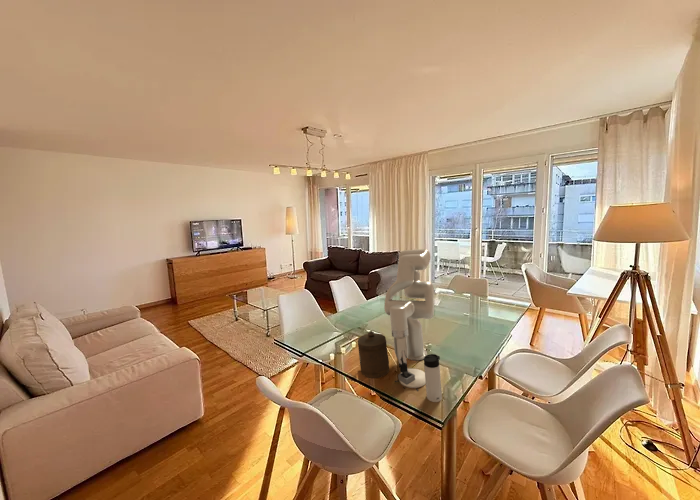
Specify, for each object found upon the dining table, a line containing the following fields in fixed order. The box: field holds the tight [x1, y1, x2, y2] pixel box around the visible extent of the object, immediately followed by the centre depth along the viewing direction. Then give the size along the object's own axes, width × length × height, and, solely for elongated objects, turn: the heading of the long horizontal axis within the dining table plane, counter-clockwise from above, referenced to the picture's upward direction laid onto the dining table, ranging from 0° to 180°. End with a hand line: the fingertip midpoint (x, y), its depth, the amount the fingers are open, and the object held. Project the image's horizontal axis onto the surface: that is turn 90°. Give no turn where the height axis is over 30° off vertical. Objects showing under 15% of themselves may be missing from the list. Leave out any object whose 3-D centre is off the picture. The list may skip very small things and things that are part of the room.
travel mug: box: [423, 353, 443, 403], centre depth 119 cm, size 6×7×20 cm
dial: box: [397, 368, 426, 389], centre depth 134 cm, size 13×13×4 cm
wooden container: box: [357, 330, 390, 379], centre depth 145 cm, size 15×15×22 cm
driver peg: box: [397, 359, 410, 378], centre depth 132 cm, size 3×3×11 cm
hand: (403, 369), depth 132 cm, fingers closed on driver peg, 3 cm apart
